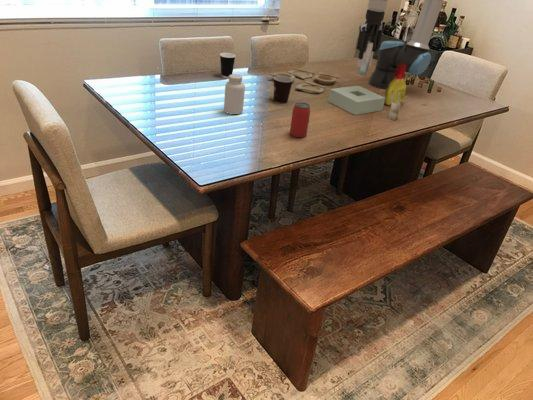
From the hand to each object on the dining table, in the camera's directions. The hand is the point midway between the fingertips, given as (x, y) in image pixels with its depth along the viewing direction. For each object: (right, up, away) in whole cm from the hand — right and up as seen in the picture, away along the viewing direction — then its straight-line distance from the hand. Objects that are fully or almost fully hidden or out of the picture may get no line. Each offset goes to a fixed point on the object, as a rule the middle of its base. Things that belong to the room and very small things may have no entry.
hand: (363, 66), depth 194 cm
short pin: (+13, -23, +1) cm, 27 cm away
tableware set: (-23, +2, +35) cm, 42 cm away
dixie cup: (-64, +3, +27) cm, 69 cm away
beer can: (-31, -35, -26) cm, 53 cm away
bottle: (+18, -13, +18) cm, 29 cm away
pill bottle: (-57, -23, -13) cm, 63 cm away
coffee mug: (-37, -14, +7) cm, 40 cm away
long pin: (0, -3, +2) cm, 4 cm away
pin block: (-2, -16, +10) cm, 19 cm away
